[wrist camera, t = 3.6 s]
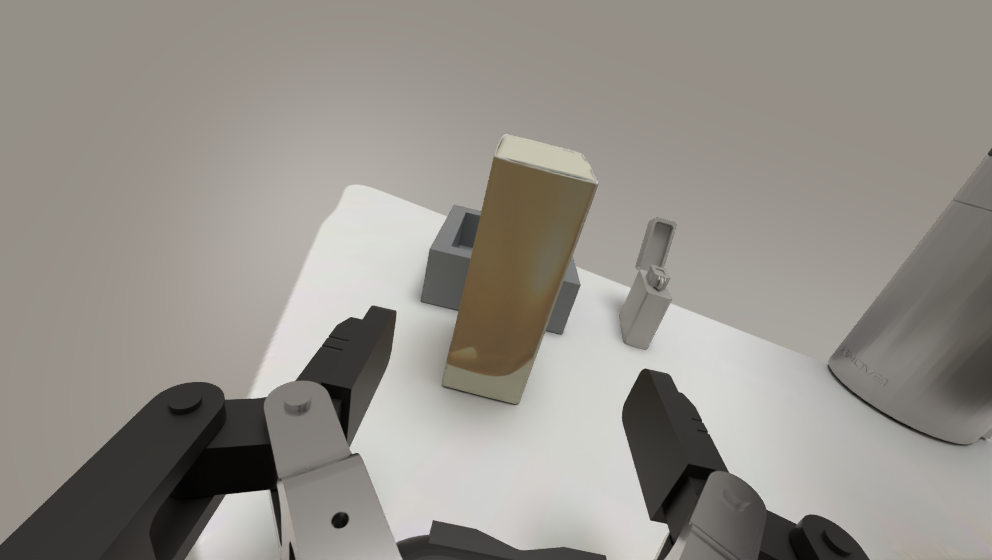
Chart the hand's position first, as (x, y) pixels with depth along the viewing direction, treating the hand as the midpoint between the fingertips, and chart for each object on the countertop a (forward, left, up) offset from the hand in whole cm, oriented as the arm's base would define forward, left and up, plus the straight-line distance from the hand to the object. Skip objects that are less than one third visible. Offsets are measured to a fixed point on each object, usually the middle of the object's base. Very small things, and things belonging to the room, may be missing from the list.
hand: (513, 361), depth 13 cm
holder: (0, -18, -7) cm, 20 cm away
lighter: (-11, -18, -7) cm, 22 cm away
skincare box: (0, -9, -7) cm, 11 cm away
